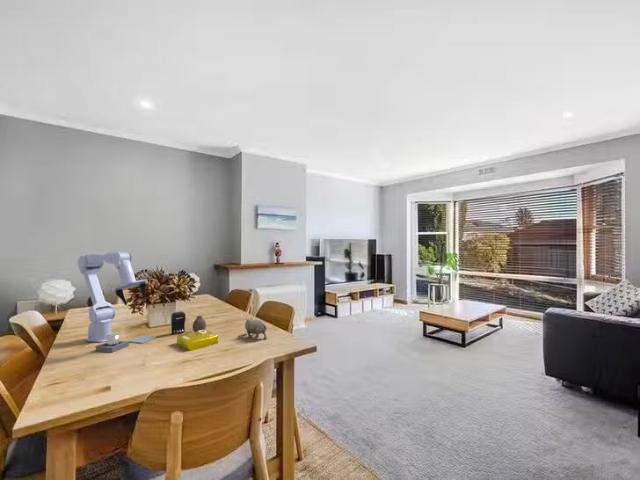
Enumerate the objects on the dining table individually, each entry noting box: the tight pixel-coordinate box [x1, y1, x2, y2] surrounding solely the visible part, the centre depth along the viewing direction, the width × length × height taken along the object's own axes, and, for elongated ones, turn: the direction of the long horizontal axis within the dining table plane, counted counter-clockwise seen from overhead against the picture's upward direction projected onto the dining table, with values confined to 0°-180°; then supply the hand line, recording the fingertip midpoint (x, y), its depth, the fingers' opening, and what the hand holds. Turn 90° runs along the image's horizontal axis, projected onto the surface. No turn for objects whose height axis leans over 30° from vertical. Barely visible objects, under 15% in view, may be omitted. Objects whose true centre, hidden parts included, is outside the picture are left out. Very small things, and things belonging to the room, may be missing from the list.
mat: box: [128, 335, 158, 345], centre depth 153 cm, size 9×9×1 cm
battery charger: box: [170, 310, 187, 335], centre depth 165 cm, size 7×4×11 cm, turn 132°
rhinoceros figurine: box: [244, 317, 268, 340], centre depth 158 cm, size 8×14×15 cm
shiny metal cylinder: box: [105, 333, 120, 347], centre depth 141 cm, size 5×5×6 cm
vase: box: [192, 315, 207, 332], centre depth 166 cm, size 7×7×9 cm
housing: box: [95, 340, 130, 353], centre depth 141 cm, size 9×9×2 cm
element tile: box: [176, 329, 219, 352], centre depth 148 cm, size 15×15×5 cm
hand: (135, 301), depth 143 cm, fingers open, 7 cm apart
